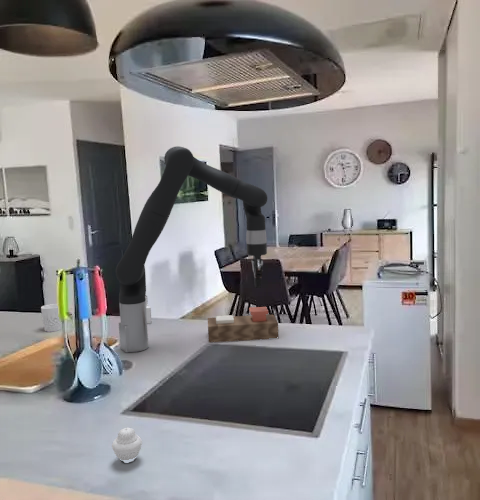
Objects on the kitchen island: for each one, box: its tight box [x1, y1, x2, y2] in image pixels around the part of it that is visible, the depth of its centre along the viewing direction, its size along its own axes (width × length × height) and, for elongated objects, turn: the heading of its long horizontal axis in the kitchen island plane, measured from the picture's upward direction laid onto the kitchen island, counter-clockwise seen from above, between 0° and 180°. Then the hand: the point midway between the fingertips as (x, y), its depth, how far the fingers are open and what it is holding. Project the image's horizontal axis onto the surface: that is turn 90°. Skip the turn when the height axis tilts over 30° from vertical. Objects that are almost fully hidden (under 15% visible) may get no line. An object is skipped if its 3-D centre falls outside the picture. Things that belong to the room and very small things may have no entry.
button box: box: [207, 314, 279, 343], centre depth 182 cm, size 26×12×6 cm, turn 94°
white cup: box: [40, 303, 62, 333], centre depth 198 cm, size 8×8×10 cm
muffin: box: [111, 427, 143, 460], centre depth 101 cm, size 6×6×7 cm
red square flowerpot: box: [248, 306, 269, 322], centre depth 182 cm, size 7×7×6 cm
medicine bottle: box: [146, 295, 153, 325], centre depth 204 cm, size 7×7×12 cm
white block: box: [215, 314, 234, 324], centre depth 182 cm, size 7×7×6 cm
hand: (258, 287), depth 181 cm, fingers closed
